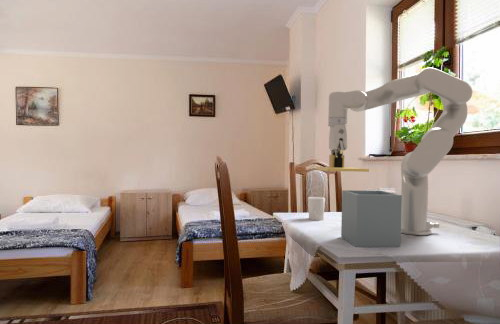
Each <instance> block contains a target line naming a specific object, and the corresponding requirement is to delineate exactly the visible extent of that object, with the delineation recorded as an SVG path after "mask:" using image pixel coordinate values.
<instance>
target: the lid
mask: <svg viewBox="0 0 500 324" xmlns="http://www.w3.org/2000/svg"><path fill="white" fill-rule="evenodd" d="M328 157H329V158H328V159H329V161H328V163H329V164H328V166H316V167H315V170H319V171H324V172H357V173H358V172H359V173H360V172H365V173H366V172H368V173H369V171H370V169H369V168H362V167H353V166H352V167H349V166H346V167H345V154H343V164H342V168H338V167H334V160H335V158H336V157H335V155H331V154H329V156H328Z"/></svg>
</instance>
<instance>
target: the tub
mask: <svg viewBox="0 0 500 324" xmlns="http://www.w3.org/2000/svg"><path fill="white" fill-rule="evenodd" d="M401 206H402V195H401V194H399V193H398V194H397V193H394V192H391V191H385V190H351V189H350V190H342V191H341V227H340V228H341V232H340V235H341V238H342V239H344V240H345V241H347V242H348V243H349V244H351V245H352V246H354V247H355V246H356V248H387V247H388V248H391V247H393V248H394V247H395V248H397V247H398V248H399V247H401V242H402V233H401Z"/></svg>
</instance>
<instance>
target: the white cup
mask: <svg viewBox="0 0 500 324" xmlns="http://www.w3.org/2000/svg"><path fill="white" fill-rule="evenodd" d="M325 205H326V197H322V196H308V197H307V210H308V211H307V212H308V220H310V221H323V220H324V216H325V215H324V214H325V207H326V206H325Z"/></svg>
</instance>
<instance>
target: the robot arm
mask: <svg viewBox="0 0 500 324" xmlns="http://www.w3.org/2000/svg"><path fill="white" fill-rule="evenodd" d="M430 93H431V94H434V95H436V96H437V97H439V98H440V101H441V103H442V104H441V105H442V108H443V109H442V113H441V114H440V116H439V118H437V120H435V122H434V123H433V125H431V127H430V128H429V129H428V130H427V131H426V132H425V133H424V134H423V136H422V137H421V140H420V142H419V144H418V145H417V146H416V147H415V149H413V151H410V152H408V153H406V154H405V155H404V156H403V157H402V159H401V163H400V171H401V172H400V175H401V192H400V193H401V194H400V195H402V206H401V234H405V235H411V236H429V235H431V234H432V230H431V229H432V228H433V229H439V228H440V223H439V222H433V223H432V222H431V221H429V220H428V201H429V200H428V197H429V196H428V195H429V177H428V175H429V174H430V173H431V172H432V171H433V170H434V169H435V168H436V167H437V166H438V165H439V164H440V162H442V160H443V159H444V158H445V157H446V156H447V154H448V153H449V152H450V151H451V149H452V147H453V145H454V137H455V136H456V135H457V133H458V132H459V131H460V130H461V128H462V127H463V125H465V123H466V120H467V117H468V104H467V103H468V102H469V101H470V100H471V98H472V96H473V88H472V86H471V85H470V84H469V83H468V82H467V81H465V80H463V79H461V78H459V77H456V76H454V75H452V74H449V73H447V72H445V71H442V70H440V69H438V68H434V67H425V68H423V69H421V71H420V72H419V73H418V72H417V73H414V74H411V75H408V76H404V77H399V78H396V79H392V80H390V81H388V82H386V83H384V84H383V85H381V86H379V87H377V88H374V89H372V90H368V91H362V90H357V89H356V90H351V91H333V92H330V94H329V96H328V121H327V122H328V123H327V125H328V127H329V134H328V135H329V137H328V149H330V155H335V157H336V158H335V160H334V167H338V168H342V164H343V155H344V151H346V150H347V149H348V132H347V129H348V128H347V126H348V109H350V110H351V111H352V112H356V113H357V112H358V113H359V112H363V111H367V110H371V109H375V108H378V107H382V106H385V105H390V104H393V103H396V102H400V101H404V100H407V99H410V98H411V99H412V98H415V97H416V98H417V97H419V96H423V95H427V94H430Z"/></svg>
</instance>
